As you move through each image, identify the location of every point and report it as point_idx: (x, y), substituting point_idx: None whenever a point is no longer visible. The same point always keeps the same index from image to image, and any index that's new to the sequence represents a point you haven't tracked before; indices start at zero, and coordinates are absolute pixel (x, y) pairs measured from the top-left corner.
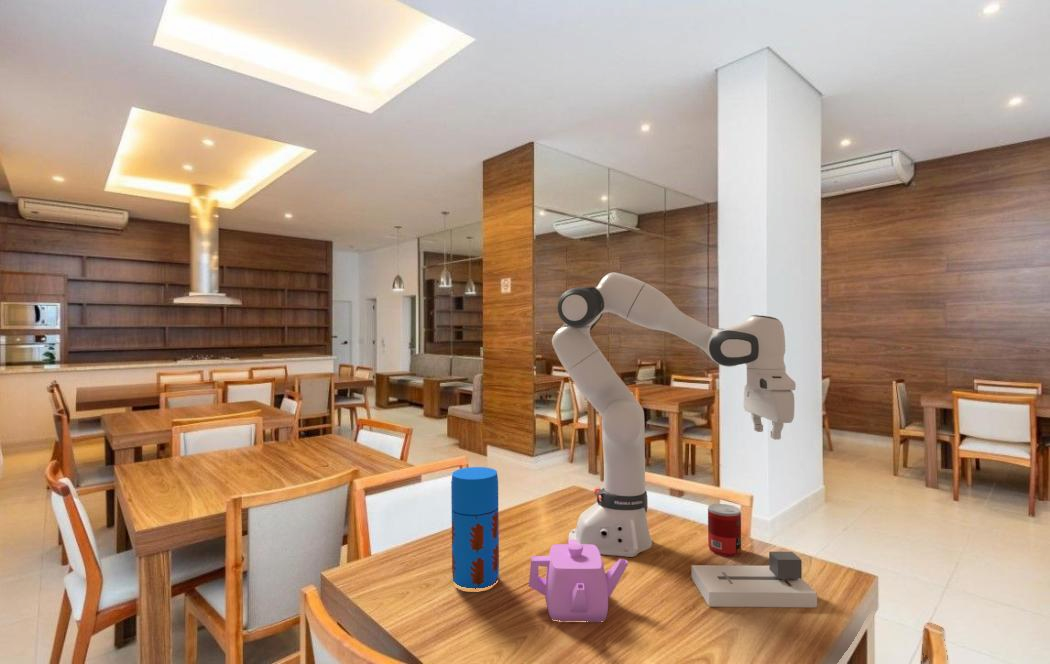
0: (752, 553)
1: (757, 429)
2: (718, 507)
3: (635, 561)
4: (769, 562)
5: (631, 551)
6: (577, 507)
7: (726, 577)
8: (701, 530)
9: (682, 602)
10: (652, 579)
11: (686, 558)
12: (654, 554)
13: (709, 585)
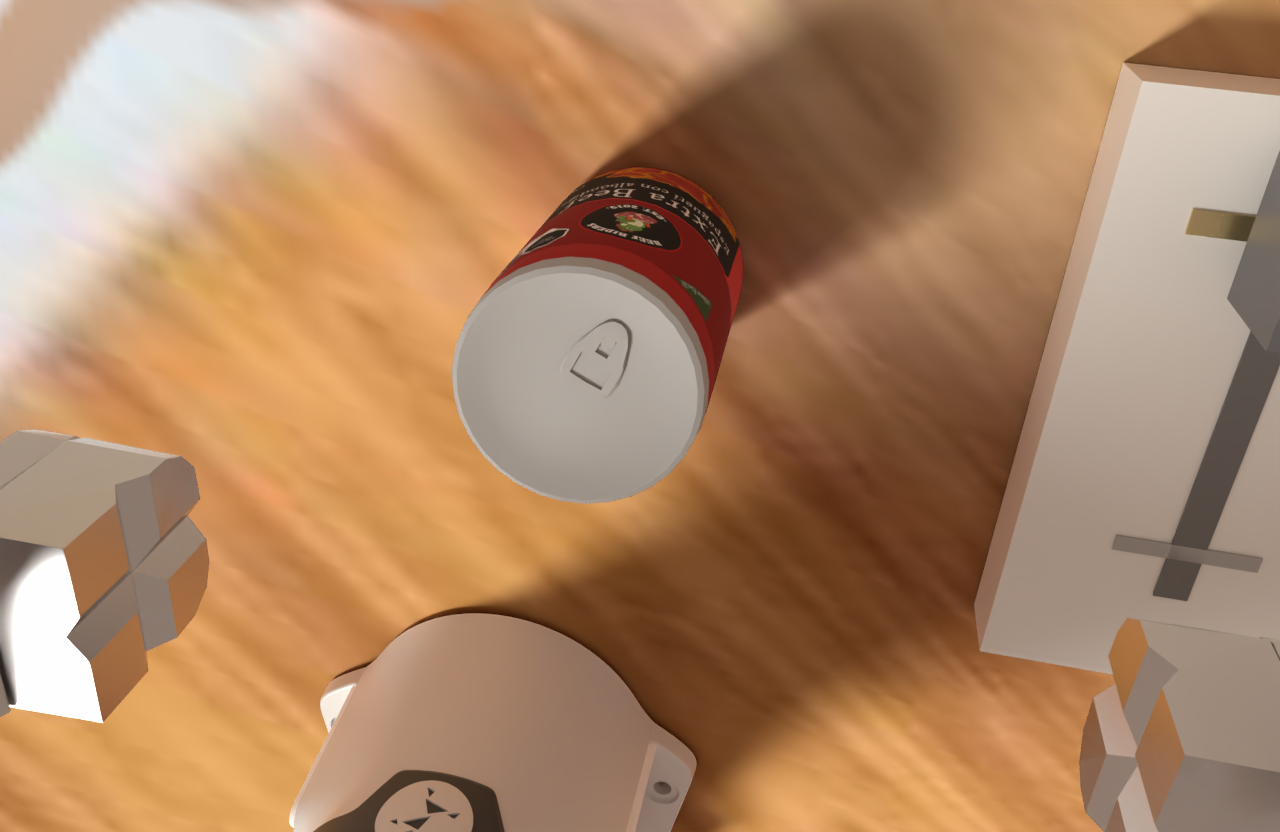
0: (703, 94)
1: (173, 608)
2: (515, 400)
3: (740, 760)
4: (1243, 318)
5: (675, 774)
6: (48, 777)
7: (1181, 556)
8: (315, 259)
9: None
10: (943, 764)
11: (733, 527)
12: (667, 655)
13: None
